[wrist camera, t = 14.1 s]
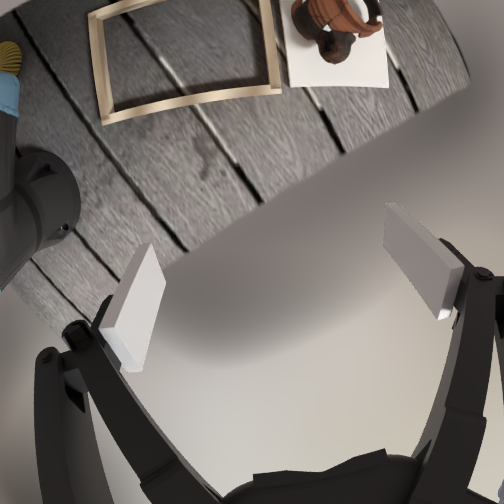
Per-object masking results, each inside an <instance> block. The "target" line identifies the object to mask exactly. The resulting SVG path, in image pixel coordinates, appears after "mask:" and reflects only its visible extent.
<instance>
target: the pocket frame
mask: <svg viewBox="0 0 504 504" xmlns="http://www.w3.org/2000/svg"><path fill="white" fill-rule="evenodd" d="M163 1H167V0H123V1H120V2H117V3H114V4H111V5H109V6H106V7H103V8H101V9H98V10H96V11H93V12H91V13H88V22H89V35H90V45H91V55H92V63H93V71H94V78H95V85H96V92H97V98H98V104H99V109H100V115H101V120H102V126H103V125H107V124H110V123H114V122H117V121H121V120H125V119H128V118H132V117H136V116H140V115H144V114H148V113H153V112H157V111H162V110H166V109H171V108H176V107H181V106H187V105H192V104H198V103H204V102H210V101H217V100H224V99H231V98H239V97H248V96H257V95H268V94H281V83H280V74H279V66H278V57H277V49H276V41H275V33H274V26H273V18H272V11H271V4H270V0H258V3H259V11H260V18H261V25H262V33H263V40H264V48H265V56H266V65H267V73H268V82H269V85H260V86H250V87H241V88H233V89H225V90H218V91H212V92H205V93H199V94H194V95H188V96H183V97H178V98H173V99H168V100H163V101H159V102H154V103H150V104H146V105H142V106H138V107H134V108H130V109H127V110H123V111H119V112H116V113H115V110H114V104H113V99H112V92H111V86H110V79H109V72H108V65H107V57H106V48H105V39H104V28H103V20H105V19H108V18H110V17H113V16H116V15H119V14H122V13H125V12H128V11H131V10H134V9H137V8H141V7H144V6H148V5H151V4H155V3H159V2H163Z"/></svg>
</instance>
